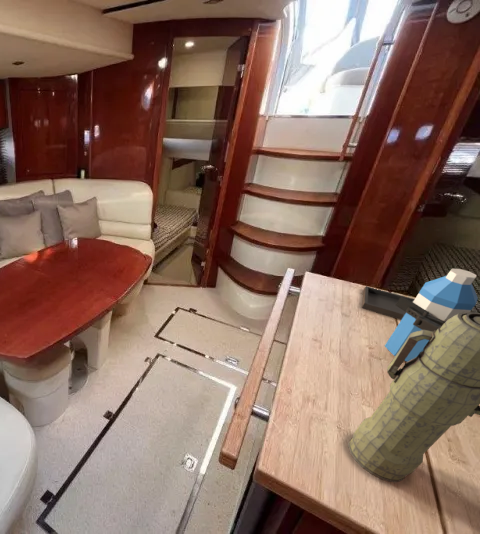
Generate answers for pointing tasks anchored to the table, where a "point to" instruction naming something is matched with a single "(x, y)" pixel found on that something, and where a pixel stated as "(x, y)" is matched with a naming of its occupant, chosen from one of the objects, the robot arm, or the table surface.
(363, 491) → the table surface
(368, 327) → the table surface
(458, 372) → the thermos
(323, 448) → the table surface
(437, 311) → the water bottle
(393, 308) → the dark grey square tray
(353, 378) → the table surface
